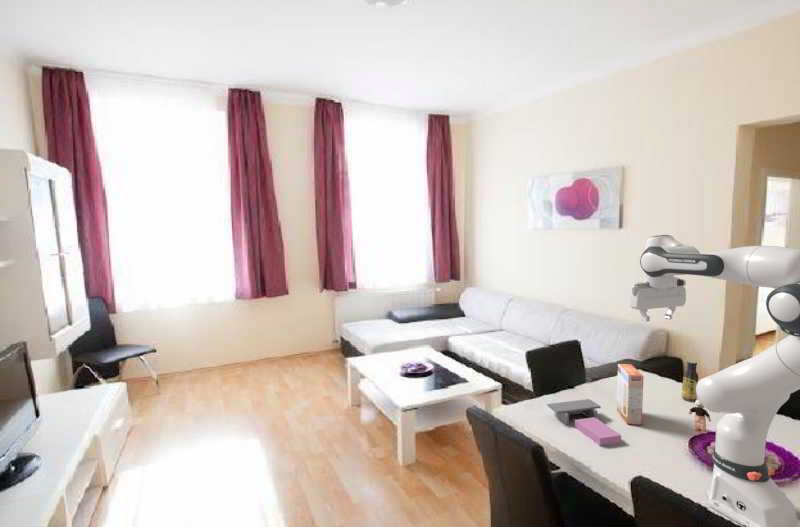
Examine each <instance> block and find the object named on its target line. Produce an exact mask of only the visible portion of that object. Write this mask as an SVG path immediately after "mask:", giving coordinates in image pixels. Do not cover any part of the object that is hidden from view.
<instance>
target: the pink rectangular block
mask: <svg viewBox="0 0 800 527" xmlns="http://www.w3.org/2000/svg"><path fill="white" fill-rule="evenodd" d="M574 428H575V429H576V430H578V431H579V432H580V433H582V434H583V435H584V436H586V437H587V438H588V437H589V438H590V440H591V439H592V440H593V441H594V443H595V444H596V443H597V444H598V445H597V444H596V445H597V446H599V447H605V446H604V445H606V446H610V444H612V445H617V444H622V434H620V433H618V432H617V431H616V430H614V429H612V428H611V427H609V425H607V424H606V423H604V422H603V421H601V420H600V419H598V418H597V419H596V418H595V417H593V418H589V417H587V418H579V419H574ZM592 440H591V441H592ZM593 441H592V442H593Z"/></svg>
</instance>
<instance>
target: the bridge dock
mask: <svg viewBox="0 0 800 527" xmlns="http://www.w3.org/2000/svg"><path fill="white" fill-rule="evenodd" d="M546 405H547V407H548V408H550V409H551V410H552V411H553V412H554V413H553V415H554V417H555V416H556V418H557V419H558V420H559V421H560V420H561V421H560V422H562V424H564V425H565V426H569V425H570V421H569V420H570V419H569V418H570V415H571V414H573V415H578V414H579V415H580V413H581V414H583V413H584V414H583V415H584V416H586V417H587V418H593V417H595V418H596V419H598V410H597V409H601V408H602V407H601V405H600V404H598V403H597V402H595V401H593V400H592V399H590V398H588V399H578V400H569V401H562V402H555V403H554V402H553V403H547V404H546Z"/></svg>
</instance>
